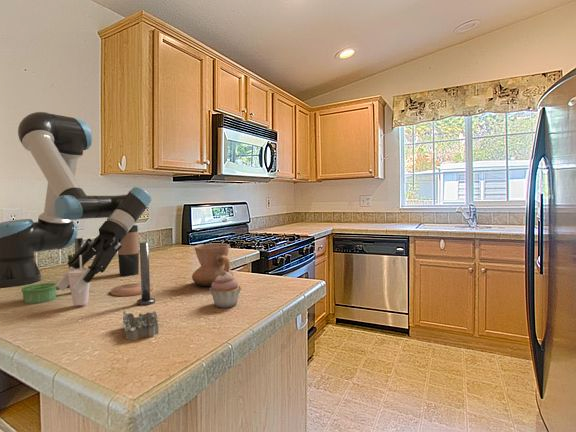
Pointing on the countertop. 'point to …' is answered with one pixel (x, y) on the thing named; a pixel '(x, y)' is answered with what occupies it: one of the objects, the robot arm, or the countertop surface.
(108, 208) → the robot arm
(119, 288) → the coaster
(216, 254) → the ceramic jug
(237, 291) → the cupcake
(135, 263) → the travel mug
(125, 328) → the grey castle model
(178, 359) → the countertop surface
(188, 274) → the countertop surface
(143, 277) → the rod gate
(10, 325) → the countertop surface
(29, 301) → the ramekin
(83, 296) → the smoothie
